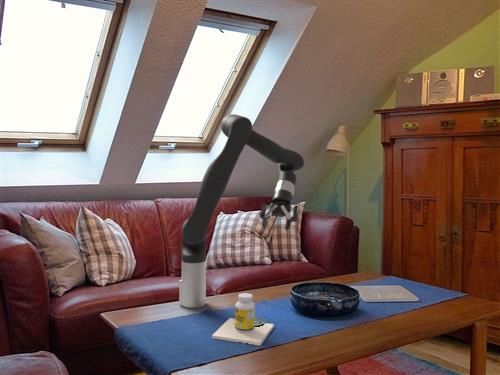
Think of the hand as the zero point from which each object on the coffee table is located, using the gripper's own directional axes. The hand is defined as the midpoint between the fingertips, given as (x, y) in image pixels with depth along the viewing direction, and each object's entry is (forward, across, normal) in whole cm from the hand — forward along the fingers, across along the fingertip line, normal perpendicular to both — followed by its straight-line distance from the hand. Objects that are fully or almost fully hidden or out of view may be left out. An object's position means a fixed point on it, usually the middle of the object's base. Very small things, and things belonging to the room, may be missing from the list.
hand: (275, 228), depth 181 cm
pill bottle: (+39, -3, +3) cm, 39 cm away
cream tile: (+40, -3, +4) cm, 40 cm away
